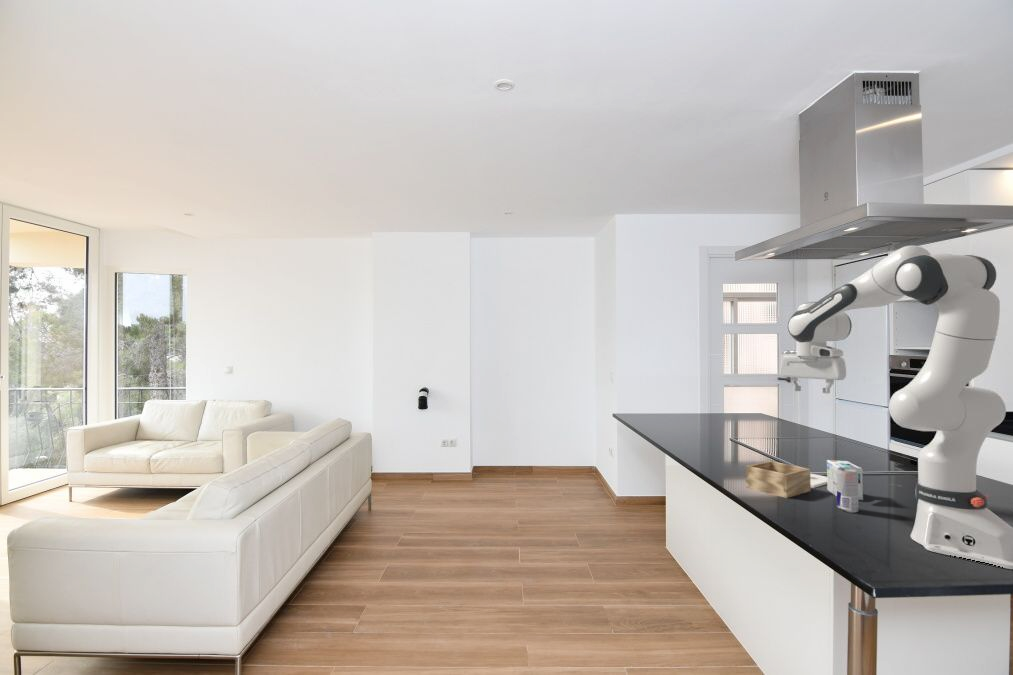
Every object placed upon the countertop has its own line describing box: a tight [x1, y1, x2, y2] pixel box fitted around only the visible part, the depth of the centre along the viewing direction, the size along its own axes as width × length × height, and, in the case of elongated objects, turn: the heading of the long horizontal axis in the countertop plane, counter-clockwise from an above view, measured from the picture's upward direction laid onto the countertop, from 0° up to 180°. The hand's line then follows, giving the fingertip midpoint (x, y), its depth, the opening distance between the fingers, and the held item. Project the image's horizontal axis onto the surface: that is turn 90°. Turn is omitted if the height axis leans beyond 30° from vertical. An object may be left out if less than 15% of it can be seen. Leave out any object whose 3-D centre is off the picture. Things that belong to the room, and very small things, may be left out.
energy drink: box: [836, 468, 859, 514], centre depth 156 cm, size 5×5×12 cm
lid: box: [810, 472, 827, 489], centre depth 187 cm, size 15×15×5 cm
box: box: [745, 460, 811, 499], centre depth 175 cm, size 14×14×8 cm
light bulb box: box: [826, 459, 864, 501], centre depth 169 cm, size 11×7×11 cm, turn 168°
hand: (811, 392), depth 176 cm, fingers open, 8 cm apart
